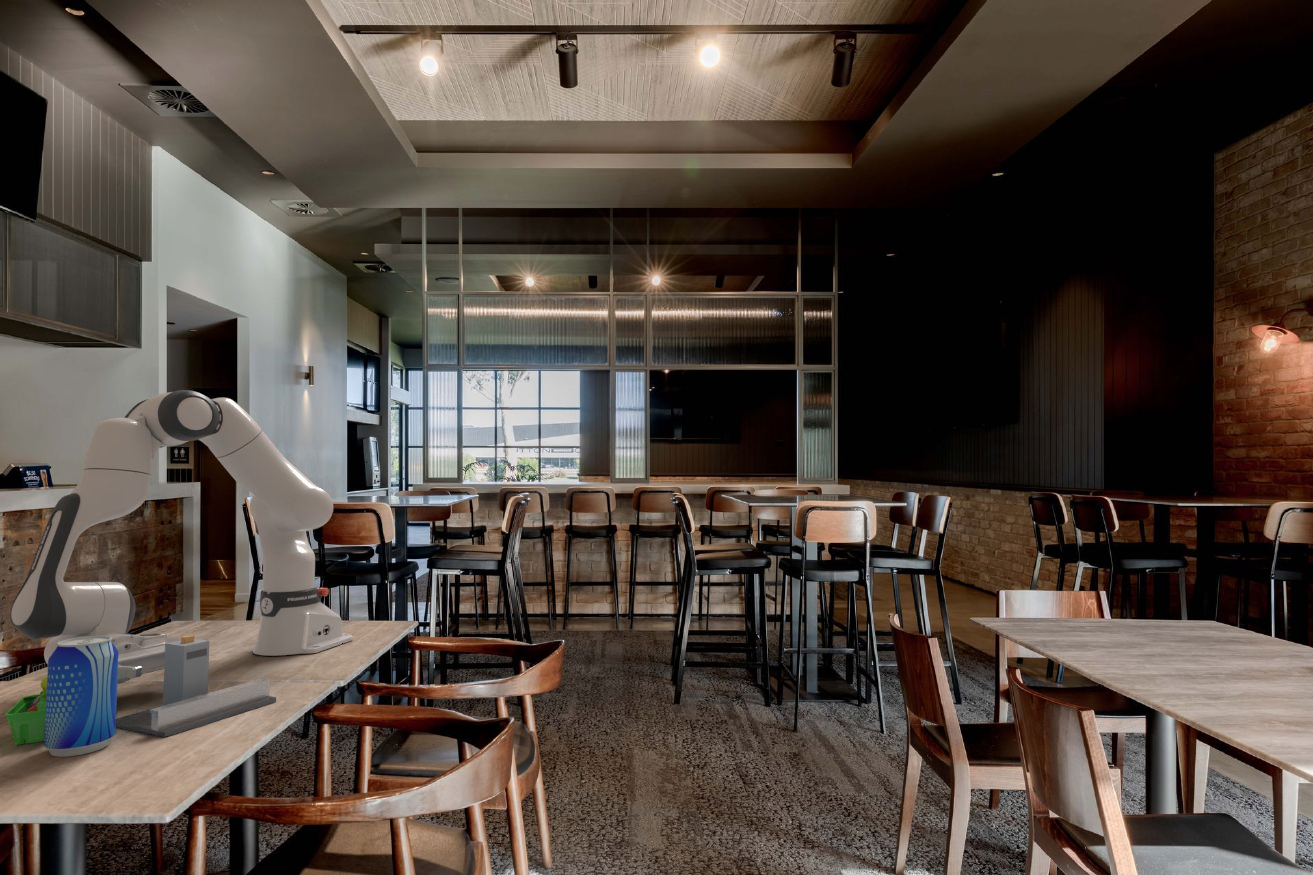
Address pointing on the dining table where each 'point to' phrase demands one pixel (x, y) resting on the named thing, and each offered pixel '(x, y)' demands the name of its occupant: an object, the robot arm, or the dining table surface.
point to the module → (185, 669)
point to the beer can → (81, 696)
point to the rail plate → (147, 716)
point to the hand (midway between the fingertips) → (165, 666)
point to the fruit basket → (29, 717)
